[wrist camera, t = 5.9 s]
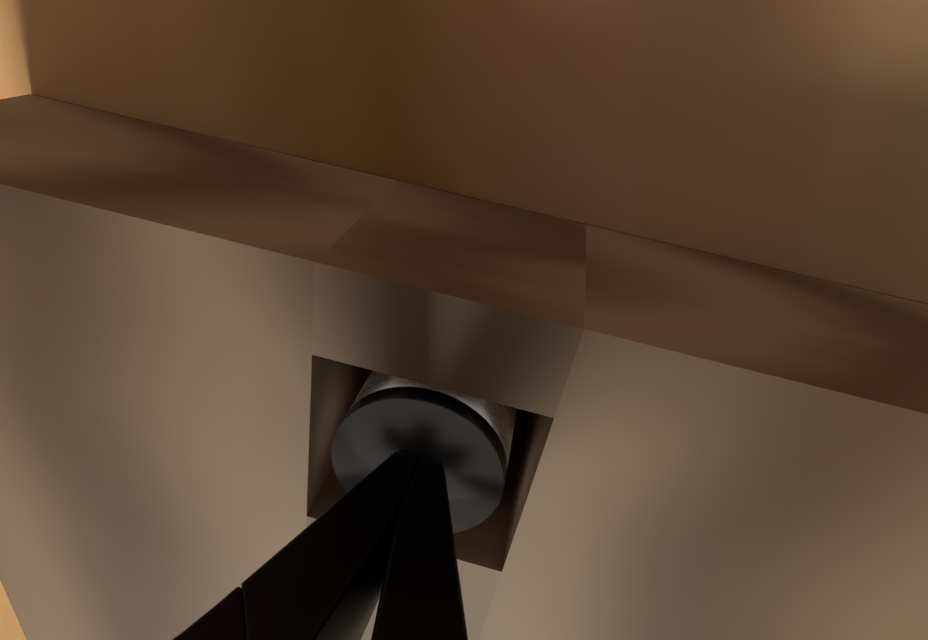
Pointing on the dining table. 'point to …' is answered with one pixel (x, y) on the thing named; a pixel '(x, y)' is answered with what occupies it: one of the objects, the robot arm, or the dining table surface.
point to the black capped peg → (429, 440)
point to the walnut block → (443, 366)
